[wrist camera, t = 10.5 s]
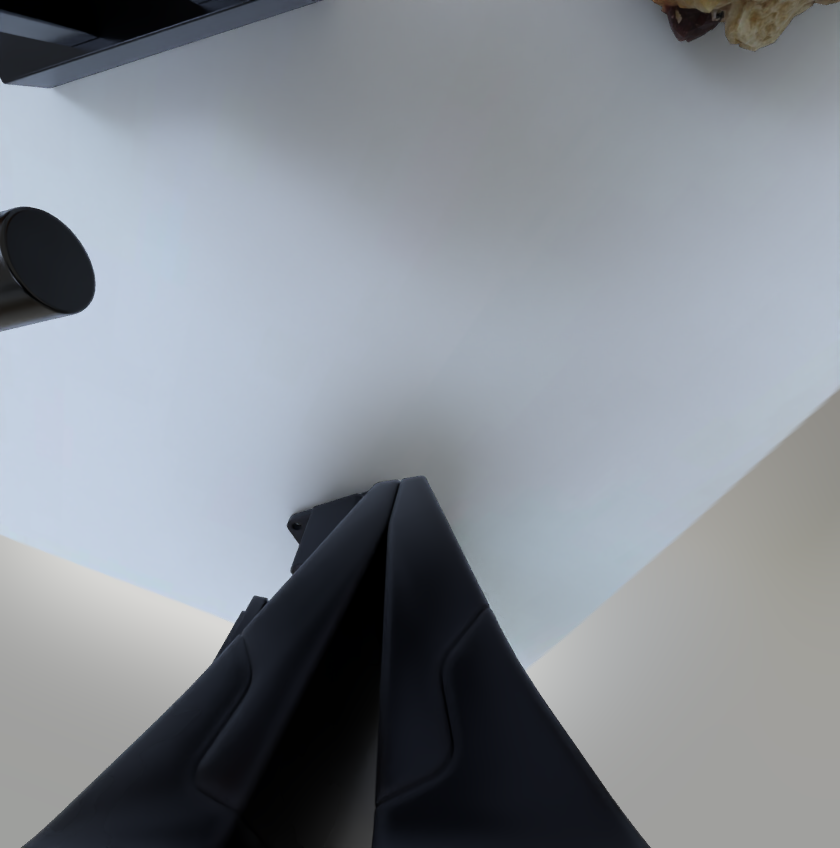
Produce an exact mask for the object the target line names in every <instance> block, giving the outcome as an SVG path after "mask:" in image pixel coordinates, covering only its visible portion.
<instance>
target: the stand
mask: <svg viewBox="0 0 840 848" xmlns="http://www.w3.org/2000/svg"><path fill="white" fill-rule="evenodd" d="M319 1H322V0H0V78H1V80H2V82H3V83H4V84H12V85H22V86H32V87H42V88H53V87H56V86H59V85H62V84H65V83H68V82H71V81H74V80H77V79H80V78H84V77H87V76H90V75H93V74H96V73H99V72H102V71H105V70H108V69H111V68H115V67H118V66H121V65H124V64H127V63H130V62H133V61H136V60H139V59H142V58H145V57H149V56H152V55H155V54H158V53H161V52H164V51H167V50H170V49H173V48H176V47H179V46H183V45H186V44H189V43H192V42H195V41H198V40H201V39H204V38H207V37H210V36H213V35H217V34H220V33H223V32H226V31H229V30H232V29H235V28H238V27H241V26H244V25H247V24H251V23H254V22H257V21H260V20H263V19H266V18H269V17H272V16H275V15H278V14H281V13H285V12H288V11H291V10H294V9H297V8H300V7H303V6H306V5H309V4H312V3H316V2H319Z"/></svg>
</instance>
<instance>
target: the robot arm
mask: <svg viewBox="0 0 840 848" xmlns="http://www.w3.org/2000/svg"><path fill="white" fill-rule="evenodd" d="M296 523H299V524H300V525H297V524H296ZM287 527H288V529H289V531H290V532H291V533H292V535H293V536H294V538H295V539H296V540H297V542H298V543H299V548H298V550H297V553H296V556H295V558H294V561H293V564H292V567H291V570H290V572H291V573H292V576H291V578H290V579H289V580H288V581H287V582H286V583H285V584H284V585H283V586H282V587H281V589H280V590H279V591H278V592H277V593H276V594H275V595H274V596H273V597H272V599H271V600H270V601H268V598H264V597H259V596H254V597H253V599H252V600H251V602H250V604H249V606H248V607H247V609H246V611H242V612H241V614H240V616H239V618H238V619H237V621H236V622H235V624H234V626H233V628H232V630H231V631H230V633H229V635H228V637H227V639H226V640H225V642H224V644H223V645H222V647H221V649H220V651H219V652H218V654H217V656H216V658H215V659H214V661H213V663H212V664H211V666H209V668H208V669H207V670H206V671H205V672H204V673H203V674H202V675H201V676H200V677H199V678H198V679H197V680H196V681H195V683H193V685H192V686H191V687H190V688H189V689H188V690H187V691H186V692H185V693H184V694H183V695H182V696H181V697H180V698H179V699H178V700H177V701H176V702H175V703H174V704H173V705H172V706H171V707H170V708H169V709H168V710H167V711H166V712H165V713H164V714H163V715H162V716H161V717H160V718H159V719H158V720H157V721H156V722H154V723H153V724H152V725H151V726H150V728H148V729H147V730H146V731H145V732H144V733H143V734H142V735H141V736H140V737H139V738H138V739H137V740H136V741H135V742H134V743H133V744H132V745H131V746H130V747H129V748H128V749H127V750H125V751H124V752H123V753H122V754H121V755H120V756H119V757H118V758H117V759H116V760H115V761H114V762H113V763H112V764H111V765H110V766H109V767H108V768H107V769H106V770H105V771H104V772H103V773H102V774H100V776H98V778H96V779H95V780H94V781H93V782H92V783H91V784H90V785H89V786H88V787H87V788H86V789H85V790H84V791H83V792H82V793H81V794H80V795H79V796H78V797H77V798H75V799H74V800H73V801H72V802H71V803H70V804H69V805H68V806H67V807H66V808H65V809H64V810H63V811H62V812H61V813H60V814H59V815H58V816H57V817H56V818H55V819H54V820H52V821H51V822H50V823H49V824H48V825H47V826H46V827H45V828H44V829H43V830H41V831H40V832H39V833H38V834H37V835H36V836H35V837H34V838H32V839H31V840H30V841H29V842H27V843H26V844H25V845H24V846H22V847H21V848H651V847H650V846H649V845H648V844H647V843H646V841H645V840H644V839H643V838H642V836H641V835H640V834H639V833H638V831H637V830H636V829H635V827H634V826H633V825H632V824H631V822H630V821H629V819H627V817H626V816H625V814H624V813H623V812H622V810H621V809H620V807H619V806H618V805H617V803H616V802H615V801H614V799H613V798H612V797H611V795H610V794H609V792H608V791H607V790H606V788H605V787H604V785H603V784H602V782H601V781H600V780H599V778H598V777H597V775H596V774H595V772H594V771H593V770H592V768H591V767H590V765H589V764H588V762H587V761H586V760H585V758H584V757H583V755H582V754H581V752H580V751H579V749H578V748H577V747H576V745H575V744H574V742H573V741H572V739H571V738H570V737H569V735H568V734H567V732H566V731H565V730H564V728H563V727H562V725H561V724H560V722H559V721H558V720H557V718H556V717H555V715H554V714H553V712H552V711H551V709H550V708H549V707H548V705H547V704H546V702H545V701H544V699H543V698H542V696H541V695H540V693H539V692H538V691H537V689H536V687H535V686H534V684H533V683H532V681H531V679H530V678H529V676H528V675H527V673H526V672H525V670H524V669H523V667H522V665H521V664H520V662H519V661H518V659H517V657H516V655H515V653H514V652H513V650H512V648H511V646H510V644H509V643H508V641H507V639H506V637H505V635H504V633H503V632H502V630H501V628H500V626H499V624H498V622H497V620H496V617H495V615H494V613H493V611H492V610H491V609H490V607H489V604H488V602H487V600H486V598H485V596H484V594H483V592H482V590H481V588H480V586H479V584H478V582H477V580H476V578H475V576H474V574H473V572H472V570H471V568H470V566H469V564H468V562H467V560H466V558H465V556H464V554H463V552H462V550H461V548H460V546H459V544H458V541H457V539H456V537H455V535H454V533H453V531H452V529H451V527H450V525H449V523H448V521H447V519H446V517H445V515H444V513H443V511H442V509H441V507H440V505H439V503H438V501H437V499H436V497H435V495H434V493H433V491H432V489H431V487H430V485H429V483H428V481H427V479H426V477H424V476H416V477H410V478H404V479H402V480H401V482H400V481H399V480H390V481H384V482H378V483H376V484H375V485H374V486H373V487H372V488H371V489H370V490H369V491H367V492H364V493H361V494H353V495H350V496H347V497H344V498H341V499H337V500H334V501H331V502H328V503H325V504H321V505H318V506H315V507H313V509H310V510H306V511H303V512H300V513H297V514H294V515H292V516H291V517H290V519H289V521H288V523H287Z"/></svg>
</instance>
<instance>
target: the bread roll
mask: <svg viewBox="0 0 840 848" xmlns="http://www.w3.org/2000/svg"><path fill="white" fill-rule="evenodd" d="M652 1H653V2H654V3H656V4H658V5H660V6H662V10H661V11H662V12H664V13H665V14H667V16H668V20H669V23H670V26H671V29H672V31H673V33H674V35H675V37H676V38H677V39H678V41H685V40H686V41H687V42H690V41H692V40H694V39H696V38H698V37H700V36H702V35H704V34H706V33H707V32H708V31H710V30H712V29H714V28H715V27H716V26H717V25H718V24H719V23H720V22H721V23H722V22H725V36H726V38H727V39H728V41H729V43H730V44H740V45H739V46H740V47H742V48H744V49H747V50H750V51H756V50H758V49H760V48H762V47H766V46H768V45H770V44H772V43H774V42H775V41H776V40H777V38H778V37H779V36H780V35H781V33H782V32H783V31H784V30H785V28H786V27H787V26H788V25H789V23H790V22H791V20H792V19H793V17H795V16H797V15H799V14H801V13H803V12H804V11H806V10H807V9H809V8H810V7H812V6H813V4H814V3H817V4H822V5H829V4H833V3H837V2H839V1H840V0H652Z"/></svg>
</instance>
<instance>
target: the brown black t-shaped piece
mask: <svg viewBox="0 0 840 848" xmlns="http://www.w3.org/2000/svg"><path fill="white" fill-rule="evenodd" d="M94 293H95V275H94V271H93V267H92V264H91V261H90V259H89V257H88V254H87V253H86V251H85V249H84V247H83V246H82V244H81V242H80V241H79V240H78V238H77V237H76V236H75V235H74V233H73V232H72V231H71V230H70V229H69V228H68V227H67V226H66V225H65V224H64V223H62V222H61V221H60V220H59V219H57V218H56V217H54V216H53V215H51V214H49V213H47V212H45V211H43V210H40V209H36V208H31V207H17V208H13V209H9V210H6V211H2V212H0V332H1V331H5V330H9V329H13V328H18V327H22V326H26V325H30V324H35V323H39V322H43V321H47V320H51V319H56V318H60V317H64V316H68V315H73V314H77V313H79V312H81V311H83V310H84V309H85V308H86V307H87V306H88V305H89V304H90V303H91V301H92V299H93V296H94Z"/></svg>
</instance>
